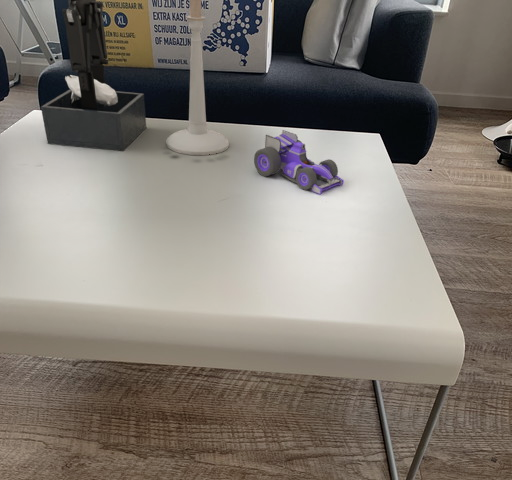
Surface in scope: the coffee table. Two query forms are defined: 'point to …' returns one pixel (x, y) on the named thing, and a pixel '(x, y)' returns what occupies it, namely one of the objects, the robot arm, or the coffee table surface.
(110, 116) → the dark grey open box
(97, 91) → the white lumpy piece
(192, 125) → the candlestick
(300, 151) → the toy race car
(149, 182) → the coffee table surface
